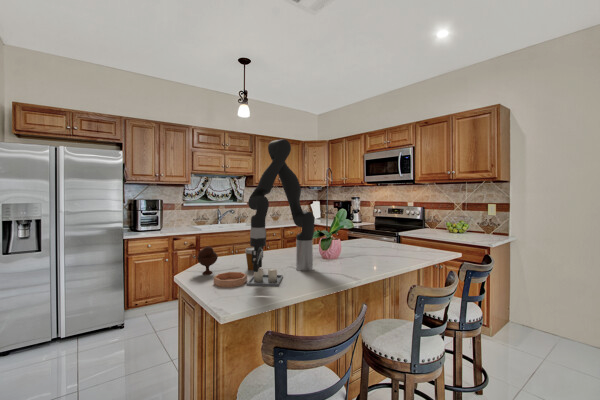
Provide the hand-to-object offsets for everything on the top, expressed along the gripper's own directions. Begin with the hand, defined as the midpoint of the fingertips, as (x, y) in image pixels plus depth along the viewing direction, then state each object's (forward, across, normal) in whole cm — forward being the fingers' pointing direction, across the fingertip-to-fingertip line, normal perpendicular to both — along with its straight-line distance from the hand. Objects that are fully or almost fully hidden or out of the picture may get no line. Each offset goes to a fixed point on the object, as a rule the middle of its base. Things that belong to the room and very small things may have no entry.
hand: (257, 269), depth 146 cm
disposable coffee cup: (+6, -23, -8) cm, 25 cm away
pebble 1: (+6, 0, 0) cm, 6 cm away
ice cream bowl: (+7, -13, -31) cm, 34 cm away
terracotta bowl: (+6, +3, -13) cm, 14 cm away
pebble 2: (+6, 0, +7) cm, 9 cm away
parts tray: (+6, 0, +4) cm, 7 cm away
